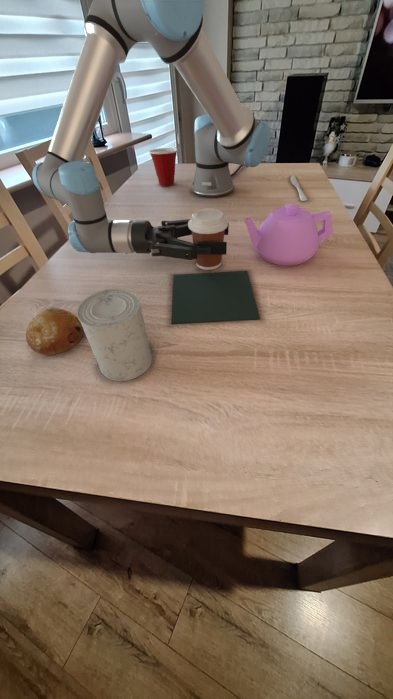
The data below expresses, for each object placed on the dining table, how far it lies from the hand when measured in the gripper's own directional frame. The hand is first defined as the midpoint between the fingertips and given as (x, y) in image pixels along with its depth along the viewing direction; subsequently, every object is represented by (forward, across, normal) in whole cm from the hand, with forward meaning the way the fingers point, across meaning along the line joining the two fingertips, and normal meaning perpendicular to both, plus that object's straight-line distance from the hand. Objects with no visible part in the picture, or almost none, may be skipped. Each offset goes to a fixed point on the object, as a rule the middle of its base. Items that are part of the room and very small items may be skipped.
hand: (227, 238), depth 70 cm
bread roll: (-32, +28, -8) cm, 43 cm away
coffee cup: (-5, 0, -7) cm, 8 cm away
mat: (-3, +13, -7) cm, 15 cm away
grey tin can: (-17, +33, -8) cm, 38 cm away
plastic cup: (-27, -62, -7) cm, 68 cm away
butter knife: (+23, -55, -7) cm, 60 cm away
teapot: (+15, -7, -7) cm, 18 cm away
